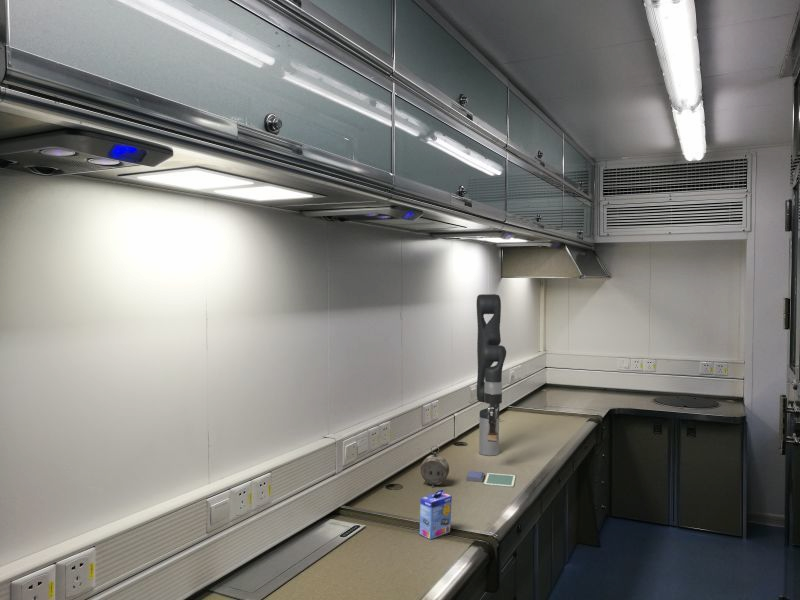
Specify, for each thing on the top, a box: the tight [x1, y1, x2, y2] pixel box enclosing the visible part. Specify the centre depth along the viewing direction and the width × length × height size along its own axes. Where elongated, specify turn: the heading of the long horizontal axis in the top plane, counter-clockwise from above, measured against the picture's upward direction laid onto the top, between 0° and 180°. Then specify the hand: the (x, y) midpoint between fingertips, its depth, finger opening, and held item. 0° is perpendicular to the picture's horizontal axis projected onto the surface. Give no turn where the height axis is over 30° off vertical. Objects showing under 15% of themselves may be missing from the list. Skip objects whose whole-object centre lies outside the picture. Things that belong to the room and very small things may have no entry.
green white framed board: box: [483, 472, 516, 488], centre depth 259 cm, size 15×12×1 cm
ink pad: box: [465, 470, 485, 483], centre depth 261 cm, size 8×6×2 cm
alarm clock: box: [420, 445, 450, 488], centre depth 250 cm, size 11×5×16 cm, turn 74°
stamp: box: [487, 416, 498, 442], centre depth 271 cm, size 6×4×10 cm
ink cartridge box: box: [419, 488, 453, 541], centre depth 203 cm, size 10×6×14 cm, turn 135°
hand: (492, 431), depth 272 cm, fingers closed on stamp, 3 cm apart
